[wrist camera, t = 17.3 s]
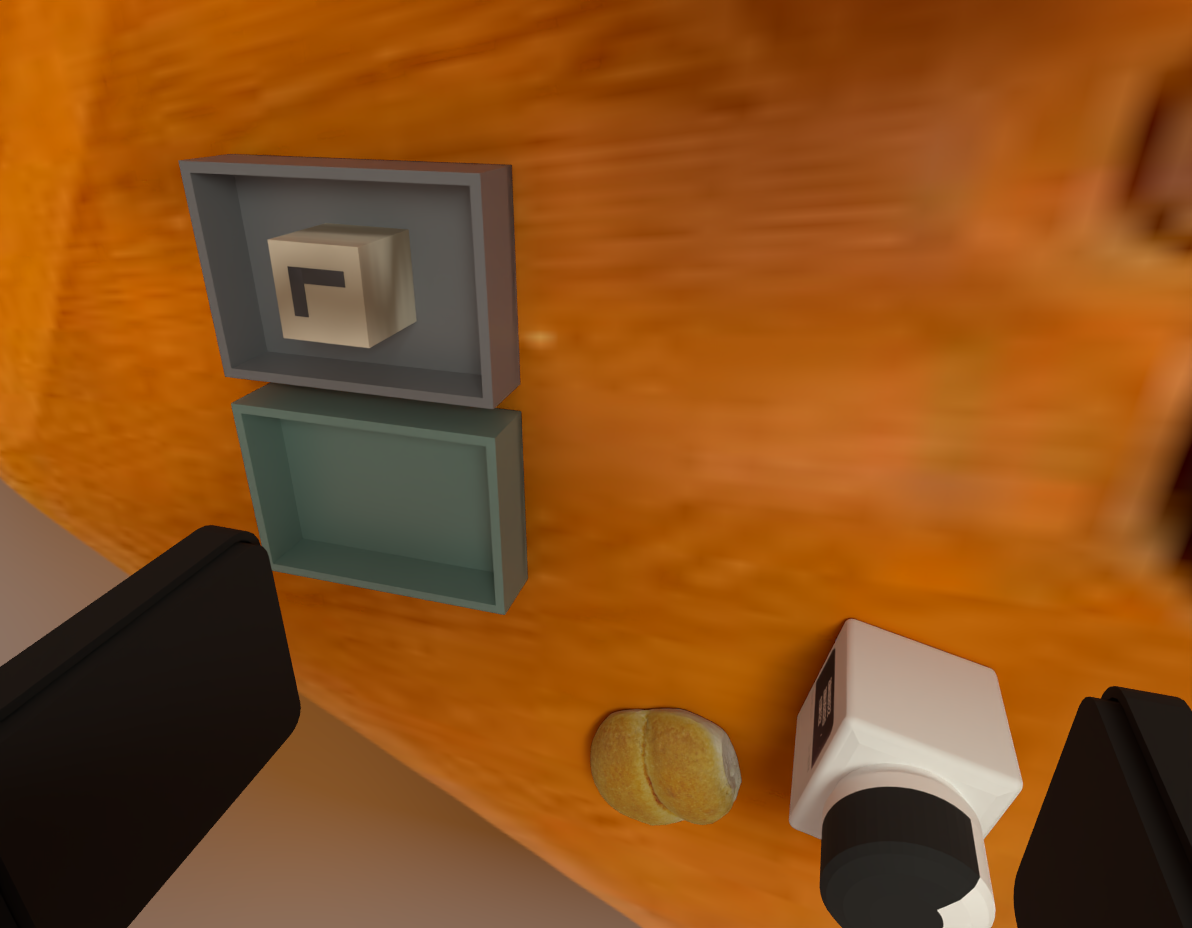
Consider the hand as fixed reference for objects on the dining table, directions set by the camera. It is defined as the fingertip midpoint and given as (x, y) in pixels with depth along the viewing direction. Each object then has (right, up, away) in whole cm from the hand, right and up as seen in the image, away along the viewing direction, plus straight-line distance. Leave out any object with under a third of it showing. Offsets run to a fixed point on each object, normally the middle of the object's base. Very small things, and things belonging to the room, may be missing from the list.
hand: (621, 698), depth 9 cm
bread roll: (+4, -15, +39) cm, 42 cm away
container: (+16, -9, +33) cm, 37 cm away
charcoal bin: (-11, +12, +30) cm, 35 cm away
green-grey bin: (-11, +2, +36) cm, 38 cm away
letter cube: (-11, +12, +30) cm, 34 cm away
